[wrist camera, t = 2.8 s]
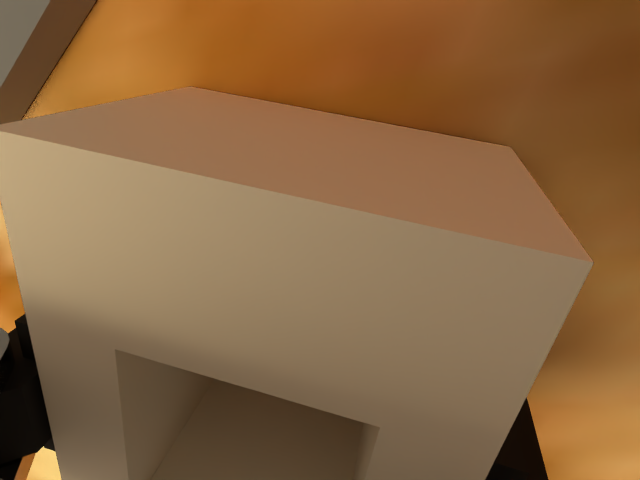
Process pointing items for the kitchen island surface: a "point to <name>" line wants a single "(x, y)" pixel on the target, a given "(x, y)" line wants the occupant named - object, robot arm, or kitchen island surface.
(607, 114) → the kitchen island surface
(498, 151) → the flange block
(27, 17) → the pin plate
